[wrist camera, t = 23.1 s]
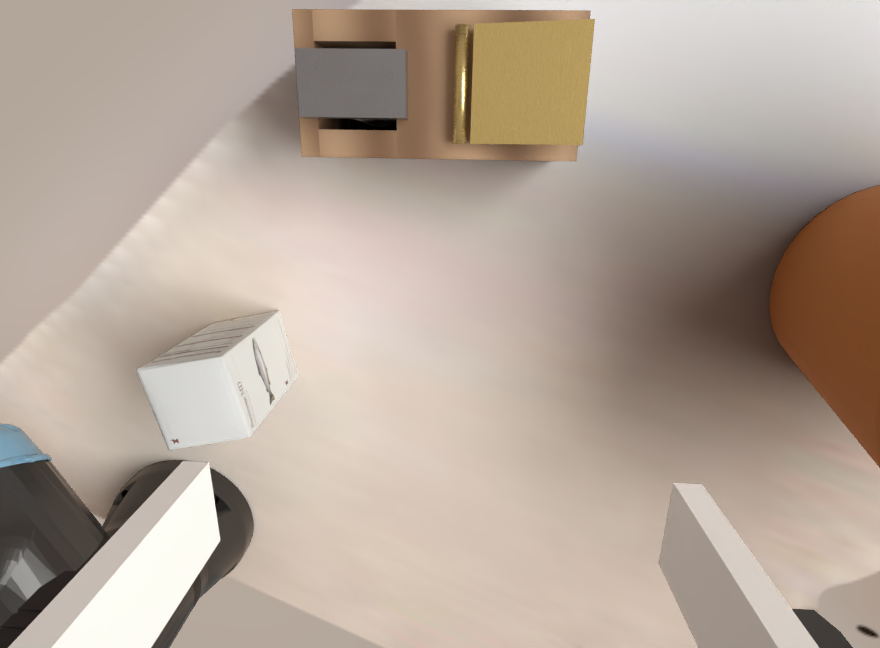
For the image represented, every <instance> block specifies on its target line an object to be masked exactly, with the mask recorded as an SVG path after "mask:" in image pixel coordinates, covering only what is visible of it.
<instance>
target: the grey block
mask: <svg viewBox="0 0 880 648" xmlns="http://www.w3.org/2000/svg"><path fill="white" fill-rule="evenodd" d="M295 62H296V77H297V92H298V107H299V117H302V118H306V119H354V120H357V121H360V122H363V123H366V124H369V125H372V126H375V127H386V126H389V125H391V124H392V123H394V122H395V121H396V120H408V53H407V51H406V49H337V48H295Z"/></svg>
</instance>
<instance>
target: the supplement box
mask: <svg viewBox="0 0 880 648" xmlns="http://www.w3.org/2000/svg"><path fill="white" fill-rule="evenodd" d="M137 374H138V376H139V379H140V381H141V383H142V386H143V388H144V391H145V393H146V395H147V398H148V400H149V403H150V405H151V408H152V411H153V413H154V416H155V418H156V420H157V422H158V425H159V427H160V430H161V432H162V435H163V437H164V440H165V442H166V445H167V448H168V450H170V451H171V450H176V449H182V448H187V447H194V446H200V445H207V444H213V443H220V442H226V441H233V440H239V439H245V438H249V437H251V435H252V434H253V433H254V431H255V430H256V429H257V428H258V426H259V425H260V424H261V423H262V421H263V420H264V419H265V418H266V416H267V415H268V414H269V413H270V411H271V410H272V409H273V408H274V406H275V405H276V404H277V403H278V401H279V400H280V399H281V398H282V396H283V395H284V394H285V393H286V391H287V390H288V389H289V388H290V386H291V385H292V384H293V383H294V381H295V380H296V379H297V378H298V376H299V373H298V370H297V367H296V364H295V362H294V359H293V356H292V353H291V349H290V346H289V343H288V339H287V335H286V332H285V329H284V325H283V321H282V317H281V313H280V311H274V312H269V313H263V314H258V315H253V316H247V317H242V318H236V319H231V320H225V321H219V322H214V323H212V324H210V325H209V326H207V327H206V328H204V329H202V330H200V331H199V332H197V333H195V334H194V335H192V336H190V337H189V338H187V339H186V340H184V341H182V342H181V343H179V344H178V345H176V346H175V347H173V348H171V349H170V350H168V351H167V352H165V353H163V354H162V355H160V356H159V357H157V358H155V359H154V360H152V361H150V362H149V363H147V364H145V365H143V366H141V367H139V368H138V369H137Z"/></svg>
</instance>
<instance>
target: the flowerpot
mask: <svg viewBox="0 0 880 648" xmlns="http://www.w3.org/2000/svg"><path fill="white" fill-rule="evenodd" d="M769 311H770V317H771V324H772V327H773V330H774V332H775V335H776V337H777V340H778V342H779V343H780V345H781V346H782V347H783V349H784V350H785V351H786V353H787V354H788V355H789V357H790V358H791V359H792V360H793V362H794V363H795V364H796V365H797V366H798V368H799V369H800V370H801V371H802V373H803V374H804V375H805V376H806V378H807V379H808V380H809V381H810V382H811V384H812V385H813V386H814V387H815V389H816V390H817V391H818V392H819V394H820V395H821V396H822V397H823V398H824V400H825V401H826V402H827V403H828V405H829V406H830V407H831V408H832V410H833V411H834V412H835V413H836V414H837V416H838V417H839V418H840V419H841V421H842V422H843V423H844V424H845V426H846V427H847V428H848V429H849V430H850V432H851V433H852V434H853V435H854V437H855V438H856V439H857V440H858V442H859V443H860V444H861V445H862V446H863V448H864V449H865V450H866V451H867V453H868V454H869V455H870V456H871V458H872V459H873V460H874V461H875V462H876V464H877V465H878V466H879V467H880V185H877V186H874V187H871V188H868V189H865V190H861V191H858V192H855V193H853V194H851V195H849V196H847V197H845V198H843V199H841V200H839V201H837V202H835V203H833V204H832V205H831V206H829V207H828V208H826V209H825V210H824V211H822V212H821V213H819V214H818V215H817V216H815V217H814V218H813V219H812V220H811V221H810V222H809V223H808V224H807V225H806V226H805V227H804V228H803V229H802V230H801V231H800V232H799V233H798V234H797V236H796V237H795V238H794V240H793V241H792V242H791V244H790V245H789V247H788V248H787V249H786V251H785V252H784V255H783V257H782V259H781V261H780V263H779V265H778V267H777V269H776V271H775V275H774V278H773V282H772V286H771V289H770V303H769Z"/></svg>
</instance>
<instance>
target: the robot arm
mask: <svg viewBox="0 0 880 648" xmlns="http://www.w3.org/2000/svg"><path fill="white" fill-rule="evenodd" d="M51 460H52V459H51V457H50V456H49V455H47V454H43V453H42V452H41V450H40V449H39V448H38V447H37V446H36V445H35V444H34V443H33V442H32V440H31V439H30V438H29V437H28V436H27V435H26V434H25V433H24V432H23V431H22V430H21V429H20V428H18V427H16V426H13V425H10V424H0V648H169V647H170V646H171V644H172V642H173V641H174V639H175V637H176V635H177V634H178V632H179V631H180V629H181V627H182V626H183V624H184V622H185V621H186V619H187V617H188V616H189V614H190V612H191V611H192V609H193V607H194V606H195V604H196V602H197V601H198V599H199V598H200V597H201V596H202V595H203V594H205V593H206V592H207V591H208V590H209V589H210V588H211V587H212V586H213V585H215V584H216V583H217V582H218V581H219V580H220V579H221V578H223V577H225V576H226V575H227V574H228V573H230V572H231V571H232V570H233V569H234V568H235V567H236V566H237V564H238V563H239V562H240V560H241V559H242V557H243V555H244V553H245V552H246V550H247V548H248V546H249V544H250V542H251V539H252V536H253V529H254V524H253V516H252V513H251V510H250V507H249V505H248V503H247V501H246V499H245V497H244V496H243V495H242V493H241V492H240V491H239V489H238V488H237V487H236V486H235V485H234V484H233V483H232V482H231V481H229V480H228V479H227V478H226V477H224V476H223V475H221V474H220V473H218V472H216V471H215V470H213V469H210V466H209V462H193V461H164V462H159V463H155V464H153V465H150V466H148V467H146V468H144V469H143V470H141V471H140V472H139V473H137V474H136V475H135V476H134V477H133V478H132V479H131V480H130V481H129V482H128V483H127V484H126V485H125V486H124V487H123V488H122V489H121V491H120V492H119V493H118V495H117V496H116V498H115V500H114V502H113V505H112V507H111V509H110V511H109V513H108V515H107V518H106V520H105V522H104V524H103V526H101V524H100V523H99V522H98V521H97V519H96V518H95V517H94V516H93V514H92V513H91V512H90V511H89V509H88V508H87V507H86V506H85V504H84V503H83V502H82V500H81V499H80V498H79V497H78V495H77V494H76V493H75V492H74V490H73V489H72V488H71V487H70V485H69V484H68V483H67V482H66V480H65V479H64V478H63V477H62V475H61V474H60V473H59V472H58V470H57V469H56V468H55V466H54V465H53V464H52V463H51ZM659 565H660V567H661V569H662V571H663V573H664V576H665V578H666V580H667V582H668V584H669V586H670V588H671V590H672V592H673V595H674V597H675V599H676V601H677V603H678V605H679V607H680V609H681V612H682V614H683V616H684V618H685V620H686V622H687V624H688V626H689V629H690V631H691V633H692V635H693V637H694V639H695V641H696V643H697V646H698V648H853V647H852V646H851V645H850V644H849V642H848V641H847V640H846V639H845V637H844V636H843V635H842V634H841V632H840V631H839V630H837V629H836V628H835V627H834V626H833V625H831V624H830V623H829V622H828V621H826V620H825V619H824V618H823V617H822V616H820V615H819V614H818V613H817V612H816V611H814V610H804V609H791V608H790V606H789V605H788V603H787V602H786V601H785V599H784V598H783V596H782V595H781V594H780V592H779V591H778V589H777V588H776V587H775V585H774V584H773V582H772V581H771V580H770V578H769V577H768V575H767V574H766V573H765V571H764V570H763V569H762V567H761V566H760V564H759V563H758V562H757V560H756V559H755V557H754V556H753V555H752V553H751V552H750V550H749V549H748V548H747V546H746V545H745V543H744V542H743V541H742V539H741V538H740V536H739V535H738V534H737V532H736V531H735V530H734V528H733V527H732V525H731V524H730V523H729V521H728V520H727V518H726V517H725V516H724V514H723V513H722V511H721V510H720V509H719V507H718V506H717V504H716V503H715V502H714V500H713V499H712V497H711V496H710V495H709V493H708V492H707V491H706V489H705V488H704V486H703V485H702V484H689V483H673V489H672V494H671V499H670V505H669V510H668V515H667V520H666V526H665V531H664V536H663V542H662V547H661V552H660V558H659Z"/></svg>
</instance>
